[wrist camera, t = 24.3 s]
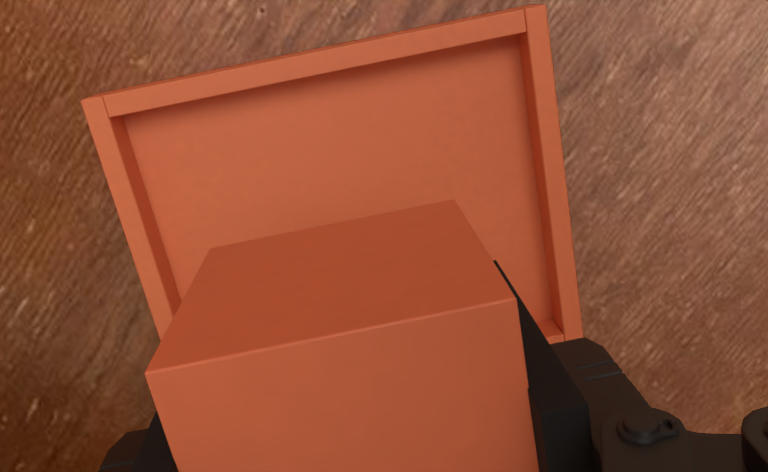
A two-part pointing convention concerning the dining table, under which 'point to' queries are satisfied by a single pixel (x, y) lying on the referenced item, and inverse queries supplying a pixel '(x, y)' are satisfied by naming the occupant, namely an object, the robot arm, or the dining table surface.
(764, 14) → the dining table surface
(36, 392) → the dining table surface
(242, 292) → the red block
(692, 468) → the robot arm
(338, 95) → the clay tray
